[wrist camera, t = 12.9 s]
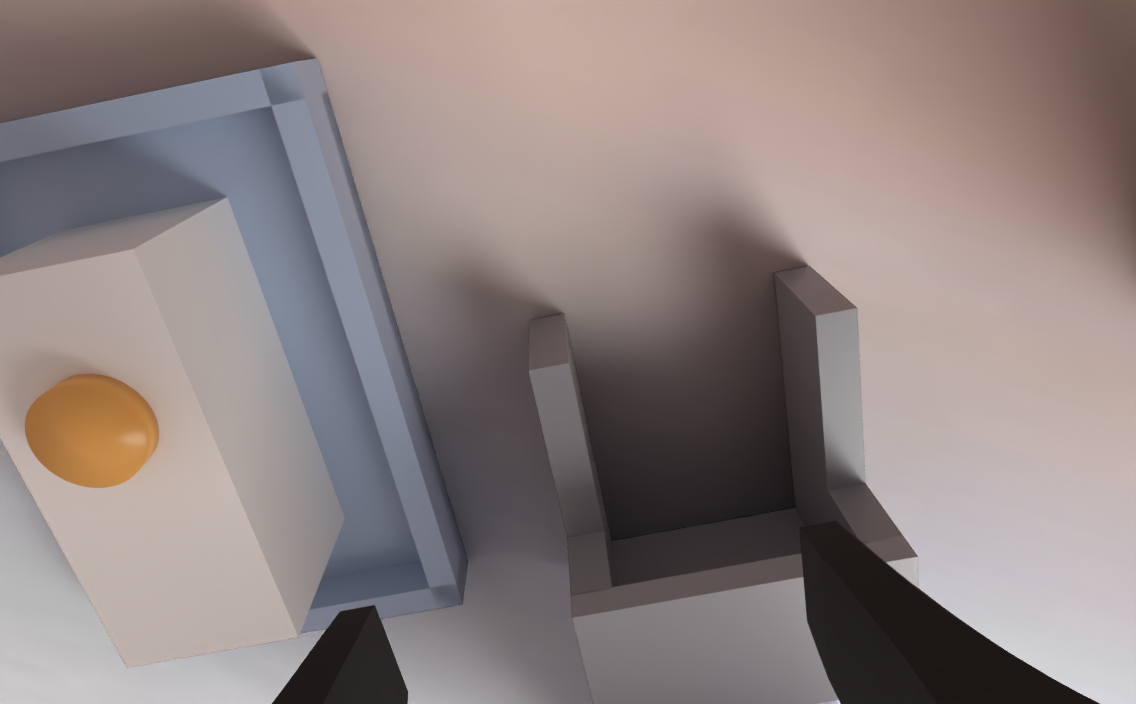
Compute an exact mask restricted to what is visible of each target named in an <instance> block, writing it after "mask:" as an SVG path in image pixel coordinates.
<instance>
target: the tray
mask: <svg viewBox="0 0 1136 704" xmlns="http://www.w3.org/2000/svg"><path fill="white" fill-rule="evenodd" d="M225 197H227V198H228V200H229V203H230V206H231V209H232V211H233V214H234V217H235V219H236V222H237V225H238V228H239V230H240V233H241V236H242V239H243V241H244V244H245V247H246V249H247V252H248V255H249V258H250V260H251V263H252V266H253V269H254V271H255V274H256V277H257V279H258V282H259V285H260V288H261V290H262V293H263V296H264V299H265V301H266V304H267V307H268V309H269V312H270V315H271V318H272V320H273V323H274V326H275V329H276V331H277V334H278V337H279V339H280V342H281V345H282V348H283V350H284V353H285V356H286V359H287V361H288V364H289V367H290V369H291V372H292V375H293V378H294V380H295V383H296V386H297V389H298V391H299V394H300V397H301V399H302V402H303V405H304V408H305V410H306V413H307V416H308V419H309V421H310V424H311V427H312V429H313V432H314V435H315V438H316V440H317V443H318V446H319V449H320V451H321V454H322V457H323V459H324V462H325V465H326V468H327V470H328V473H329V476H330V479H331V481H332V484H333V487H334V489H335V492H336V495H337V498H338V500H339V503H340V506H341V509H342V511H343V514H344V517H345V519H344V522H343V525H342V527H341V530H340V532H339V535H338V537H337V540H336V542H335V545H334V548H333V550H332V553H331V555H330V558H329V560H328V563H327V566H326V568H325V571H324V573H323V576H322V578H321V581H320V584H319V586H318V589H317V591H316V594H315V596H314V599H313V602H312V604H311V607H310V609H309V612H308V614H307V617H306V619H305V622H304V625H303V627H302V630H301V632H300V633H305V632H311V631H317V630H322V629H327V628H328V627H329V625H330V624H331V623H332V621H333V620H334V619H335V617H336V616H337V615H338V613H339V612H340V611H344V610H349V609H355V608H360V607H366V606H371V605H375V606H376V609H377V612H378V614H379V617H380V619H384V618H389V617H395V616H400V615H406V614H411V613H417V612H423V611H428V610H434V609H439V608H445V607H451V606H456V605H462V604H463V597H464V589H465V581H466V573H467V566H468V560H467V557H466V554H465V550H464V547H463V544H462V540H461V537H460V534H459V530H458V527H457V524H456V520H455V517H454V514H453V510H452V507H451V504H450V500H449V497H448V494H447V490H446V487H445V484H444V480H443V477H442V474H441V470H440V467H439V464H438V460H437V457H436V454H435V450H434V447H433V444H432V440H431V437H430V433H429V430H428V427H427V423H426V420H425V417H424V413H423V410H422V407H421V403H420V400H419V397H418V393H417V390H416V387H415V383H414V380H413V377H412V373H411V370H410V367H409V363H408V360H407V357H406V353H405V350H404V347H403V343H402V340H401V337H400V333H399V330H398V327H397V323H396V320H395V317H394V313H393V310H392V307H391V303H390V300H389V296H388V293H387V290H386V286H385V283H384V280H383V276H382V273H381V270H380V266H379V263H378V260H377V256H376V253H375V250H374V246H373V243H372V240H371V236H370V233H369V230H368V226H367V223H366V220H365V216H364V213H363V210H362V206H361V203H360V200H359V196H358V193H357V190H356V186H355V183H354V180H353V176H352V173H351V170H350V166H349V163H348V159H347V156H346V153H345V149H344V146H343V143H342V139H341V136H340V133H339V129H338V126H337V123H336V119H335V116H334V113H333V109H332V106H331V103H330V99H329V96H328V93H327V89H326V86H325V83H324V79H323V76H322V73H321V69H320V66H319V63H318V59H317V58H315V59H309V60H302V61H295V62H290V63H285V64H281V65H276V66H271V67H266V68H262V69H257V70H252V71H247V72H242V73H238V74H233V75H228V76H223V77H219V78H214V79H209V80H204V81H199V82H195V83H190V84H185V85H180V86H176V87H171V88H166V89H161V90H157V91H152V92H147V93H142V94H137V95H133V96H128V97H123V98H118V99H114V100H109V101H104V102H99V103H94V104H90V105H85V106H80V107H75V108H71V109H66V110H61V111H56V112H51V113H47V114H42V115H37V116H32V117H28V118H23V119H18V120H13V121H9V122H4V123H0V257H2V256H5V255H7V254H9V253H12V252H14V251H16V250H18V249H21V248H23V247H25V246H28V245H30V244H32V243H35V242H37V241H39V240H42V239H44V238H46V237H49V236H51V235H53V234H55V233H58V232H60V231H62V230H67V229H72V228H77V227H82V226H87V225H92V224H97V223H102V222H107V221H112V220H117V219H121V218H126V217H131V216H136V215H141V214H146V213H151V212H156V211H161V210H166V209H171V208H176V207H181V206H185V205H190V204H195V203H200V202H205V201H210V200H215V199H220V198H225Z"/></svg>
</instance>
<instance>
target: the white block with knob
mask: <svg viewBox="0 0 1136 704" xmlns="http://www.w3.org/2000/svg"><path fill="white" fill-rule="evenodd" d="M0 439H1V440H2V442H3V444H4V446H5V448H6V450H7V451H8V453H9V455H10V457H11V459H12V460H13V462H14V464H15V466H16V468H17V469H18V471H19V473H20V475H21V477H22V479H23V480H24V482H25V484H26V486H27V488H28V489H29V491H30V493H31V495H32V497H33V499H34V500H35V502H36V504H37V506H38V508H39V509H40V511H41V513H42V515H43V517H44V519H45V520H46V522H47V524H48V526H49V528H50V529H51V531H52V533H53V535H54V537H55V538H56V540H57V542H58V544H59V546H60V548H61V549H62V551H63V553H64V555H65V557H66V558H67V560H68V562H69V564H70V566H71V568H72V569H73V571H74V573H75V575H76V577H77V578H78V580H79V582H80V584H81V586H82V588H83V589H84V591H85V593H86V595H87V597H88V598H89V600H90V602H91V604H92V606H93V607H94V609H95V611H96V613H97V615H98V617H99V618H100V620H101V622H102V624H103V626H104V627H105V629H106V631H107V633H108V635H109V637H110V638H111V640H112V642H113V644H114V646H115V647H116V649H117V651H118V653H119V655H120V657H121V658H122V660H123V662H124V664H125V666H126V667H127V668H130V667H136V666H141V665H147V664H152V663H158V662H163V661H169V660H175V659H180V658H186V657H191V656H197V655H203V654H208V653H214V652H219V651H225V650H231V649H236V648H242V647H247V646H253V645H259V644H264V643H270V642H275V641H281V640H286V639H292V638H298V637H299V635H300V632H301V630H302V627H303V625H304V622H305V619H306V617H307V614H308V612H309V609H310V607H311V604H312V602H313V599H314V596H315V594H316V591H317V589H318V586H319V584H320V581H321V578H322V576H323V573H324V571H325V568H326V566H327V563H328V560H329V558H330V555H331V553H332V550H333V548H334V545H335V542H336V540H337V537H338V535H339V532H340V530H341V527H342V525H343V522H344V519H345V517H344V514H343V511H342V509H341V506H340V503H339V500H338V498H337V495H336V492H335V489H334V487H333V484H332V481H331V479H330V476H329V473H328V470H327V468H326V465H325V462H324V459H323V457H322V454H321V451H320V449H319V446H318V443H317V440H316V438H315V435H314V432H313V429H312V427H311V424H310V421H309V419H308V416H307V413H306V410H305V408H304V405H303V402H302V399H301V397H300V394H299V391H298V389H297V386H296V383H295V380H294V378H293V375H292V372H291V369H290V367H289V364H288V361H287V359H286V356H285V353H284V350H283V348H282V345H281V342H280V339H279V337H278V334H277V331H276V329H275V326H274V323H273V320H272V318H271V315H270V312H269V309H268V307H267V304H266V301H265V299H264V296H263V293H262V290H261V288H260V285H259V282H258V279H257V277H256V274H255V271H254V269H253V266H252V263H251V260H250V258H249V255H248V252H247V249H246V247H245V244H244V241H243V239H242V236H241V233H240V230H239V228H238V225H237V222H236V219H235V217H234V214H233V211H232V209H231V206H230V203H229V200H228V198H227V197H225V198H220V199H215V200H210V201H205V202H200V203H195V204H190V205H185V206H181V207H176V208H171V209H166V210H161V211H156V212H151V213H146V214H141V215H136V216H131V217H126V218H121V219H117V220H112V221H107V222H102V223H97V224H92V225H87V226H82V227H77V228H72V229H67V230H62V231H60V232H58V233H55V234H53V235H51V236H49V237H46V238H44V239H42V240H39V241H37V242H35V243H32V244H30V245H28V246H25V247H23V248H21V249H18V250H16V251H14V252H12V253H9V254H7V255H5V256H2V257H0Z"/></svg>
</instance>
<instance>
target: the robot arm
mask: <svg viewBox="0 0 1136 704" xmlns="http://www.w3.org/2000/svg"><path fill="white" fill-rule="evenodd" d="M799 531H800V543H801V555H802V567H803V579H804V591H805V603H806V616H807V623H808V625H809V628H810V631H811V634H812V636H813V639H814V642H815V645H816V648H817V650H818V653H819V656H820V658H821V661H822V664H823V666H824V669H825V671H826V674H827V677H828V679H829V681H830V683H831V685H832V687H833V689H834V691H835V693H836V695H837V697H838V699H839V700H836V701H830V702H824V703H818V704H1099V703H1097V702H1095V701H1094V700H1092V699H1090V698H1088V697H1086V696H1084V695H1082V694H1080V693H1078V692H1076V691H1074V690H1072V689H1071V688H1069V687H1067V686H1065V685H1063V684H1061V683H1060V682H1058V681H1056V680H1054V679H1052V678H1051V677H1049V676H1047V675H1046V674H1044V673H1042V672H1041V671H1039V670H1037V669H1035V668H1034V667H1032V666H1030V665H1029V664H1027V663H1025V662H1024V661H1022V660H1020V659H1019V658H1017V657H1015V656H1014V655H1012V654H1011V653H1009V652H1007V651H1006V650H1004V649H1003V648H1001V647H1000V646H998V645H997V644H995V643H994V642H992V641H991V640H989V639H987V638H986V637H985V636H983V635H982V634H980V633H979V632H977V631H976V630H974V629H973V628H972V627H970V626H969V625H967V624H966V623H964V622H963V621H961V620H960V619H959V618H957V617H956V616H954V615H953V614H952V613H950V612H949V611H948V610H946V609H945V608H943V607H942V606H941V605H939V604H938V603H937V602H936V601H934V600H933V599H932V598H930V597H929V596H928V595H926V594H925V593H924V592H923V591H921V590H920V589H919V588H917V587H916V586H915V585H913V584H912V583H911V582H910V581H908V580H907V579H906V578H905V577H903V576H902V575H901V574H900V573H898V572H897V571H896V570H895V569H893V568H892V567H891V566H890V565H889V564H887V563H886V562H885V561H884V560H883V559H881V558H880V557H879V556H878V555H877V554H875V553H874V552H873V551H872V550H871V549H870V548H868V547H867V546H866V545H865V544H864V543H863V542H861V541H860V540H859V539H858V538H857V537H856V536H855V535H853V534H852V533H851V532H850V531H849V530H848V529H847V528H845V527H844V526H843V525H842V524H840V523H839V522H837V521H831V522H826V523H820V524H815V525H809V526H804V527H799ZM407 703H408V691H407V688H406V685H405V683H404V680H403V677H402V675H401V672H400V670H399V667H398V664H397V662H396V659H395V656H394V654H393V651H392V648H391V646H390V643H389V641H388V638H387V635H386V633H385V630H384V627H383V625H382V622H381V619H380V617H379V614H378V612H377V609H376V606H375V605H371V606H366V607H360V608H355V609H349V610H344V611H340V612H339V613H338V615H337V616H336V617H335V619H334V620H333V621H332V623H331V624H330V625H329V627H328V628H327V629H326V631H325V632H324V634H323V635H322V636H321V638H320V639H319V640H318V642H317V643H316V644H315V646H314V647H313V649H312V650H311V651H310V653H309V654H308V656H307V657H306V658H305V660H304V661H303V662H302V664H301V665H300V667H299V668H298V669H297V671H296V672H295V673H294V675H293V676H292V678H291V679H290V680H289V682H288V683H287V684H286V686H285V687H284V688H283V690H282V691H281V692H280V694H279V695H278V696H277V698H276V699H275V700H274V702H273V703H272V704H407Z"/></svg>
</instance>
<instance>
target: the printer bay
mask: <svg viewBox="0 0 1136 704" xmlns="http://www.w3.org/2000/svg"><path fill="white" fill-rule="evenodd" d="M774 276H775V287H776V298H777V309H778V320H779V332H780V343H781V354H782V365H783V376H784V387H785V398H786V409H787V420H788V431H789V442H790V454H791V465H792V476H793V487H794V498H795V508H792V509H787V510H781V511H776V512H770V513H765V514H759V515H753V516H748V517H742V518H737V519H731V520H726V521H720V522H715V523H709V524H704V525H698V526H693V527H687V528H682V529H676V530H671V531H665V532H659V533H654V534H648V535H643V536H637V537H632V538H626V539H621V540H615V541H611V538H610V533H609V528H608V523H607V518H606V513H605V509H604V504H603V499H602V494H601V489H600V484H599V480H598V475H597V470H596V465H595V460H594V455H593V450H592V446H591V441H590V436H589V431H588V426H587V421H586V417H585V412H584V407H583V402H582V397H581V392H580V387H579V383H578V378H577V373H576V368H575V363H574V358H573V354H572V349H571V344H570V339H569V334H568V329H567V324H566V320H565V315H564V314H558V315H553V316H548V317H543V318H538V319H533V320H530V326H529V366H528V371H529V375H530V380H531V384H532V388H533V393H534V397H535V401H536V405H537V410H538V414H539V418H540V423H541V427H542V431H543V435H544V440H545V444H546V448H547V453H548V457H549V461H550V465H551V470H552V474H553V478H554V483H555V487H556V491H557V496H558V500H559V504H560V508H561V513H562V517H563V521H564V526H565V530H566V534H567V541H568V558H569V575H570V591H571V608H572V620H573V624H574V628H575V632H576V636H577V640H578V645H579V649H580V653H581V657H582V661H583V665H584V669H585V673H586V678H587V682H588V686H589V690H590V694H591V698H592V702H593V704H818V703H824V702H830V701H836V700H839V699H838V697H837V695H836V693H835V691H834V689H833V687H832V685H831V683H830V681H829V679H828V677H827V674H826V671H825V669H824V666H823V664H822V661H821V658H820V656H819V653H818V650H817V648H816V645H815V642H814V639H813V636H812V634H811V631H810V628H809V625H808V623H807V616H806V603H805V591H804V579H803V567H802V555H801V543H800V531H799V527H804V526H809V525H815V524H820V523H826V522H831V521H837V522H839V523H840V524H842V525H843V526H844V527H845V528H847V529H848V530H849V531H850V532H851V533H852V534H853V535H855V536H856V537H857V538H858V539H859V540H860V541H861V542H863V543H864V544H865V545H866V546H867V547H868V548H870V549H871V550H872V551H873V552H874V553H875V554H877V555H878V556H879V557H880V558H881V559H883V560H884V561H885V562H886V563H887V564H889V565H890V566H891V567H892V568H893V569H895V570H896V571H897V572H898V573H900V574H901V575H902V576H903V577H905V578H906V579H907V580H908V581H910V582H911V583H912V584H913V585H915V586H916V587H917V588H918V556H917V555H916V553H915V552H914V550H913V549H912V548H911V546H910V545H909V543H908V542H907V541H906V539H905V538H904V536H903V535H902V534H901V532H900V531H899V530H898V528H897V527H896V525H895V524H894V523H893V521H892V520H891V518H890V517H889V516H888V514H887V513H886V511H885V510H884V509H883V507H882V506H881V504H880V503H879V502H878V500H877V499H876V497H875V496H874V495H873V493H872V492H871V490H870V489H869V488H868V486H867V485H866V483H865V462H864V441H863V419H862V398H861V377H860V355H859V334H858V312H857V307H856V306H854V305H853V304H852V303H851V302H850V301H849V300H848V299H847V298H845V297H844V296H843V295H842V294H841V293H840V292H839V291H837V290H836V289H835V288H834V287H833V286H832V285H831V284H830V283H828V282H827V281H826V280H825V279H824V278H823V277H822V276H820V275H819V274H818V273H817V272H816V271H815V270H814V269H813V268H811V267H810V266H807V267H802V268H796V269H791V270H786V271H781V272H776V273H774Z"/></svg>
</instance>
